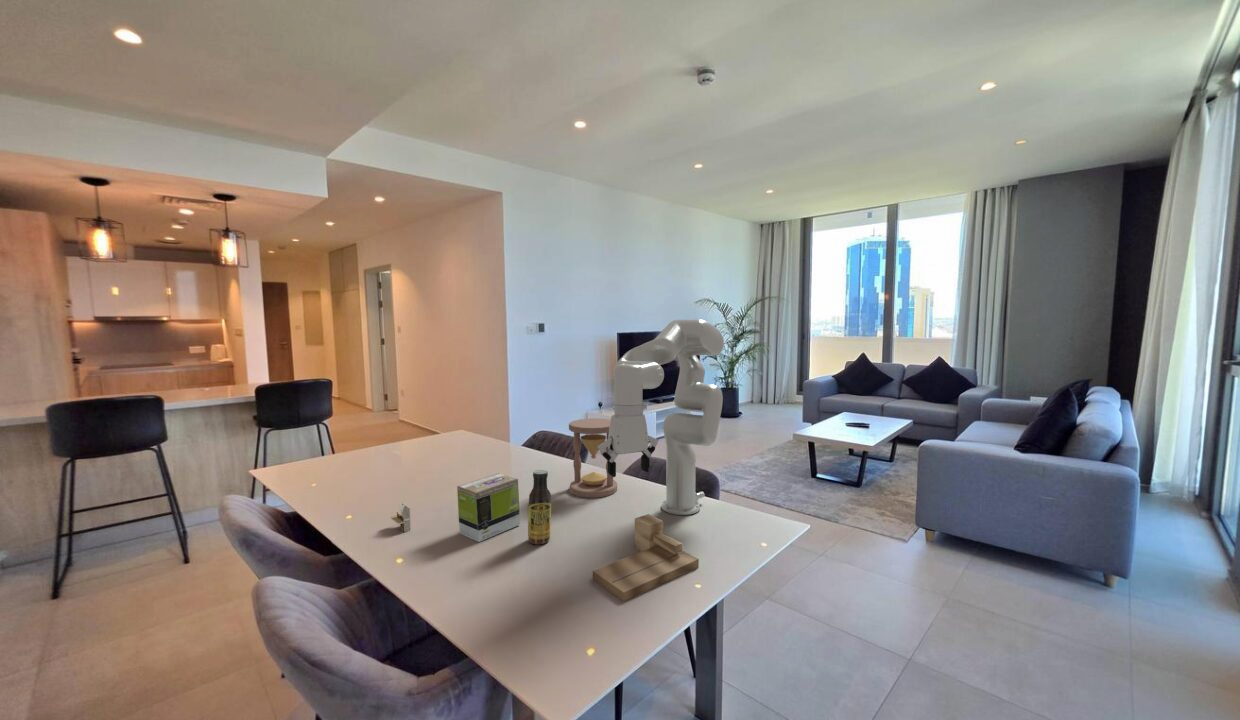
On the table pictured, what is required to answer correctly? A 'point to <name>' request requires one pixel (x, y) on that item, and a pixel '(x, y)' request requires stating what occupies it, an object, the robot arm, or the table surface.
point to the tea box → (488, 506)
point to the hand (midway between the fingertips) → (628, 473)
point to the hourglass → (592, 482)
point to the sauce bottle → (539, 509)
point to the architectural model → (403, 518)
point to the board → (643, 571)
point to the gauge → (653, 535)
